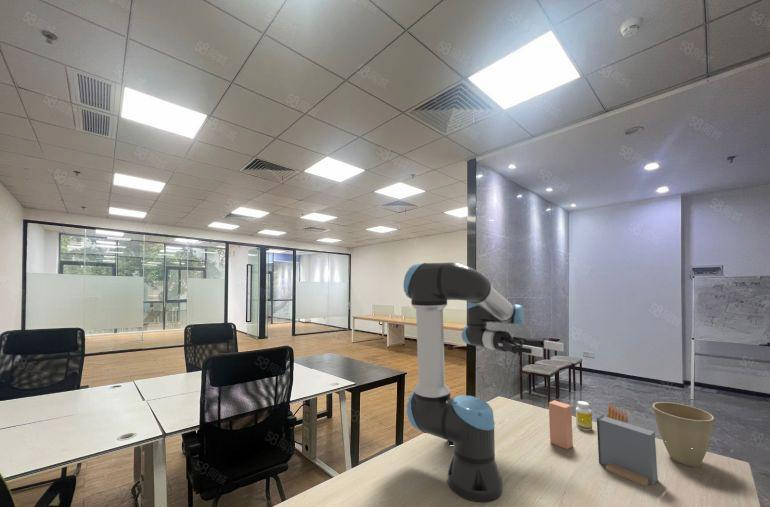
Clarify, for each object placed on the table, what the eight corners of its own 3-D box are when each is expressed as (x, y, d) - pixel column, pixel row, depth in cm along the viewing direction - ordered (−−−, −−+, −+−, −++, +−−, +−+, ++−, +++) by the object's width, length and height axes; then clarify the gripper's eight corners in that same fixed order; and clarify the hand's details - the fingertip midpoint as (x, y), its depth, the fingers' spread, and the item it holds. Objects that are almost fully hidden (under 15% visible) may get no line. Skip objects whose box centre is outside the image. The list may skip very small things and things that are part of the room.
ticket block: (595, 466, 103) (593, 420, 104) (607, 457, 108) (605, 413, 109) (650, 489, 92) (647, 437, 93) (660, 477, 97) (657, 428, 98)
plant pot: (646, 455, 109) (643, 406, 111) (668, 445, 116) (665, 399, 117) (705, 479, 96) (701, 424, 97) (726, 466, 103) (722, 414, 104)
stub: (550, 442, 117) (548, 402, 119) (555, 439, 120) (554, 400, 121) (567, 449, 113) (565, 407, 114) (572, 446, 115) (571, 405, 116)
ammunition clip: (631, 448, 114) (629, 413, 115) (626, 448, 114) (624, 413, 115) (611, 434, 124) (610, 402, 125) (606, 434, 124) (605, 401, 125)
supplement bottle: (594, 431, 126) (593, 405, 127) (579, 430, 127) (578, 404, 128) (588, 425, 132) (587, 400, 132) (574, 424, 133) (573, 399, 133)
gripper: (516, 346, 132) (571, 356, 115) (477, 354, 117) (532, 367, 100) (516, 327, 132) (570, 334, 115) (476, 333, 118) (531, 342, 101)
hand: (553, 349), depth 108 cm, fingers open, 13 cm apart
